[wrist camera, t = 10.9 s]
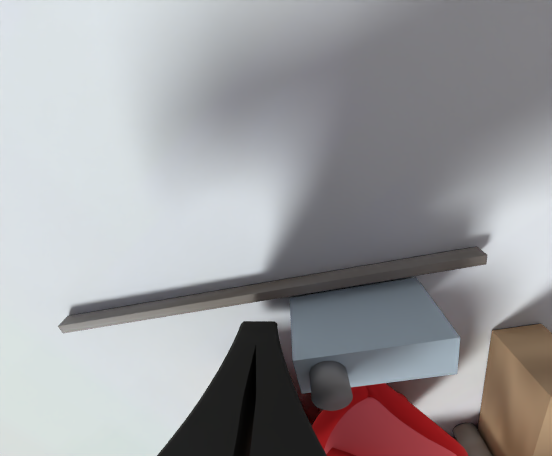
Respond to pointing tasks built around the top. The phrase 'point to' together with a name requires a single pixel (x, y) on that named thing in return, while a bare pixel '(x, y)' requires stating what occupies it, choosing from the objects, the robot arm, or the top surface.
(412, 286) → the pale blue-grey box
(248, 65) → the top surface
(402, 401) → the cap
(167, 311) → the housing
